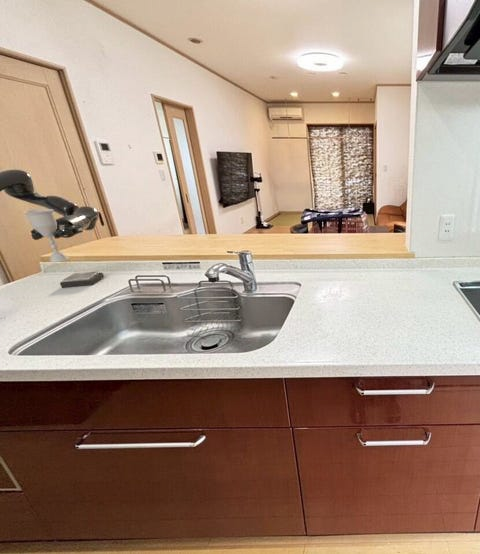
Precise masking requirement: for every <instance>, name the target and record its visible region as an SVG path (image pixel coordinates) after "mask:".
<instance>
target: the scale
mask: <svg viewBox="0 0 480 554" xmlns="http://www.w3.org/2000/svg"><path fill="white" fill-rule="evenodd" d="M104 277H105V276H104V273H103V272H101V271H99V270H96V271H95V270H94V271H85V272H74V273H72V274H70V275H69V276H66V277H65V278H64V279H62V280H61V281H60V282H59V285H60V287H61V289H66V288H77V287H78V288H79V287H87V286H94V285H96V284H97V283H98V282H99V281H101V280H103V278H104Z"/></svg>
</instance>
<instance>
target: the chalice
mask: <svg viewBox="0 0 480 554" xmlns="http://www.w3.org/2000/svg"><path fill="white" fill-rule="evenodd" d="M23 213H24V214H25V215H26V216H27V218H28V220H29V223H30V225H31V227H32V228H33V229H35V230H36V231H38V232H39V233H40V234H41V235H43V236H44V237H43V238H47V239H48V243H49V244H50V249H52V250H53V253H52V254H51V255H50V257H49V258H50V260H49V262H51V263H55V262H62V261H63V262H64V261H66V260H69V259H70V258H69V256H67V255H66V254H65V253H64V252H60V251H59V250H58V245H56V241H55V240H54V239H53V238H54V235H53V232H56V229H57V222H56V218H55V214H54V211H53V209H47V208H44V209H43V208H42V209H32V210H26V211H25V210H24V211H23Z"/></svg>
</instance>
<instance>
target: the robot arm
mask: <svg viewBox="0 0 480 554" xmlns="http://www.w3.org/2000/svg"><path fill="white" fill-rule="evenodd" d="M2 191H3V192H4V193H5V194H6V195H8V196H9V197H11V198H14V199H17V200H19V201H22V202H26V203H28V204H33V205H36V206H39V207H42V208H44V209H53V213H56V214H58V215H60V216H61V217H58V218H55V220H56V222H57V229H56V232H53V235H54V236H53V238H55V239H60V238H65V239H69V238H72V237H74V236H76V235H78V234H81V233H84V231H92V230H95V228H96V227H97V223H98V220H99V218H100V217H99V216H100V212H99V211H98V209H96V208H95V207H92V206H87V205H83V206H79V205H78V204H76V203H75V202H73V201H70V200H69V199H66V198H65V197H61V196H58V195H42V194H40V193H38V192H37V191H35V186H34V183H33V179H32V176H31V175H30V174H29V173H28V172H27V171H25V170H22V169H6V170H3V171H0V193H1V192H2ZM30 233H31V235H30V236H31V237H32V239H33V240H34V241H39V240H41V239H43V238H45V237H44V236H43V235H41V234H40V233H39V232H38V231H36V230H35V229H34V228H33V229H31V231H30Z"/></svg>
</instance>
